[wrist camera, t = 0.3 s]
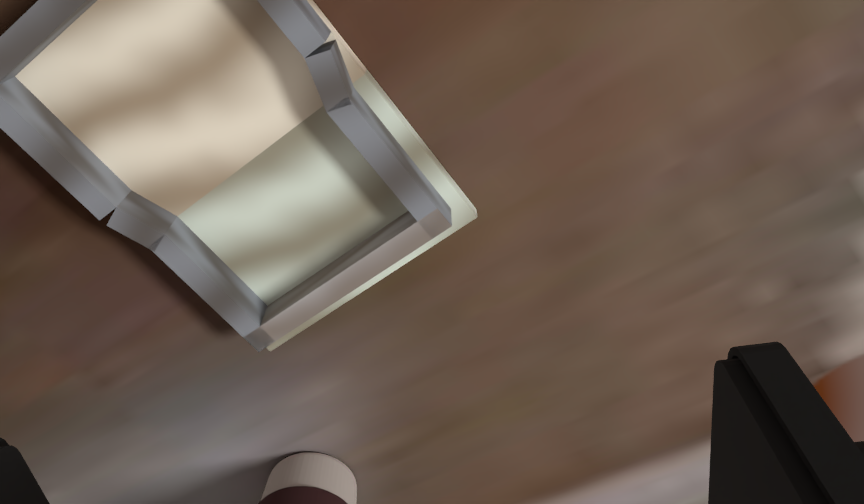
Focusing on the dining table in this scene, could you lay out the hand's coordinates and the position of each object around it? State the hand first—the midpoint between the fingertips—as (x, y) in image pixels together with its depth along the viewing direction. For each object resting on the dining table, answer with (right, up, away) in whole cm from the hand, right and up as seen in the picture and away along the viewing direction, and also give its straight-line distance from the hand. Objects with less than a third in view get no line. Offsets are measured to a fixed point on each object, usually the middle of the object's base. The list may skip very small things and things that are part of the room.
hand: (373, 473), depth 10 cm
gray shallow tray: (-11, +10, +35) cm, 38 cm away
